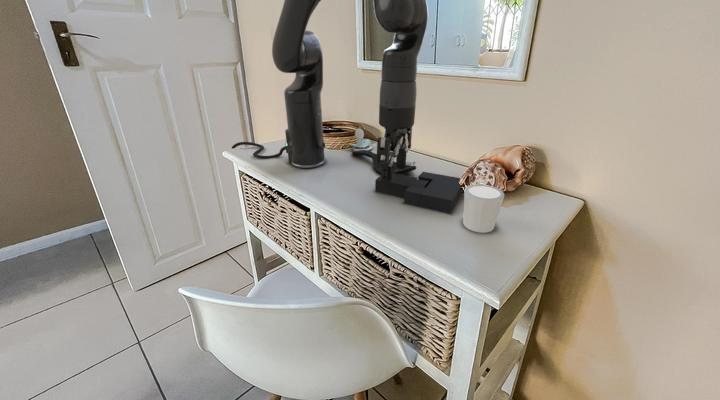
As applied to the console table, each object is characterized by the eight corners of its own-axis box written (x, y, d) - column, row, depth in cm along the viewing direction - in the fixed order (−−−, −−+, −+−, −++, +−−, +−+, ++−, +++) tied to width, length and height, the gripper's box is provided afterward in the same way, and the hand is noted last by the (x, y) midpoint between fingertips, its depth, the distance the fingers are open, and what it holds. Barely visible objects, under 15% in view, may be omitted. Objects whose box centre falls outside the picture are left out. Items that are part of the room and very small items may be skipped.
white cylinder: (503, 223, 63) (510, 190, 60) (488, 238, 59) (495, 204, 56) (469, 212, 67) (474, 180, 64) (453, 225, 63) (457, 192, 60)
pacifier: (376, 150, 103) (365, 144, 108) (377, 130, 100) (365, 125, 105) (356, 154, 100) (346, 149, 104) (356, 134, 97) (346, 129, 101)
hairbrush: (364, 141, 101) (424, 160, 82) (364, 153, 103) (423, 174, 84) (341, 147, 97) (399, 168, 78) (342, 159, 98) (399, 182, 80)
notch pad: (404, 203, 71) (404, 190, 70) (422, 182, 81) (422, 171, 79) (450, 213, 67) (452, 200, 66) (463, 190, 76) (465, 178, 75)
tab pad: (375, 191, 76) (375, 179, 75) (384, 182, 81) (385, 171, 79) (421, 201, 72) (422, 188, 70) (428, 191, 76) (429, 179, 75)
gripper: (394, 95, 76) (391, 162, 83) (365, 107, 65) (365, 182, 72) (425, 98, 73) (419, 167, 80) (401, 111, 62) (397, 189, 69)
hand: (393, 174), depth 76 cm, fingers open, 8 cm apart
